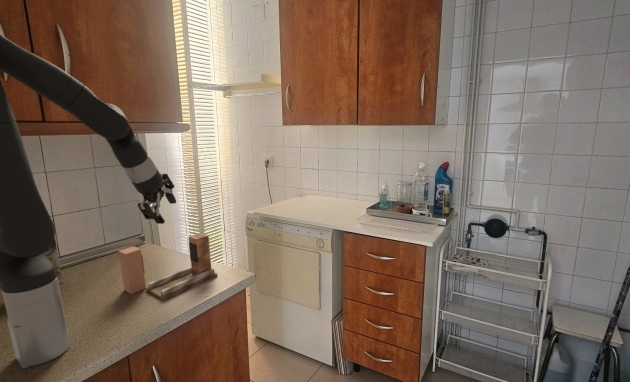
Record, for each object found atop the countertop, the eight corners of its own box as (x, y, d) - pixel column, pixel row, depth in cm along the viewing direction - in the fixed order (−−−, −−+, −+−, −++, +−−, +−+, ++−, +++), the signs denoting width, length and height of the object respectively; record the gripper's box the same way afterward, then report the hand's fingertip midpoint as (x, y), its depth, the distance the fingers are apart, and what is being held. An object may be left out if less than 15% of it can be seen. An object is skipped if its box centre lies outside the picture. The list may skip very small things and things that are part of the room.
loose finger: (131, 294, 100) (125, 254, 97) (124, 289, 103) (118, 250, 100) (147, 287, 104) (142, 248, 101) (140, 283, 107) (135, 245, 104)
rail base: (163, 300, 96) (157, 255, 93) (146, 290, 102) (140, 248, 99) (217, 276, 111) (214, 236, 108) (199, 268, 117) (196, 231, 114)
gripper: (143, 157, 98) (166, 196, 109) (117, 190, 87) (145, 230, 98) (166, 156, 96) (187, 196, 107) (142, 190, 86) (168, 230, 97)
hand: (167, 212), depth 103 cm, fingers open, 8 cm apart
